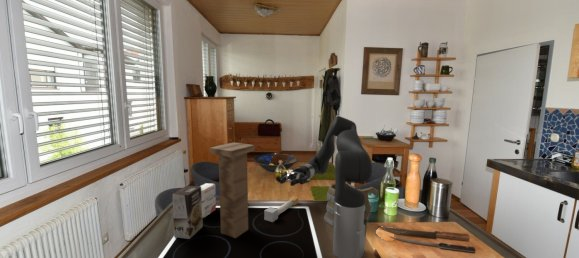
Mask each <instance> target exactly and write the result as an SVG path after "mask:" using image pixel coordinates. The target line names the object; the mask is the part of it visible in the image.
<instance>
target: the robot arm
mask: <svg viewBox="0 0 579 258" xmlns="http://www.w3.org/2000/svg"><path fill="white" fill-rule="evenodd" d="M334 136H335V137H336V140H335V142H334ZM334 143H336V144H334ZM335 145H336V146H335ZM335 147H336V150H337V153H336V155H335V158H334V159H335V160H334V177H335V179H334V180H335V181H334V182H335V205H334V226H333V239H332V241H333V242H332V253H333V255H334V256H335V257H336V258H362V257H363V256H364V253H365V243H366V242H365V241H366V224H365V218H364V212H365V195H364V194H363V193H362V192H361V191H359V190H357V189H358V188H356V187H355V188H352V187H350V186H349V185H347V184H348V183H347V184H346V182H350V183H352V182H354V183H363V182H368V181H369V180H370V179H371V177H372V174H373V162H372V159H371V157H370V155H369V153H368V152H367V150H366V149H365V148H364V146H363V144H362V141H361V139H360V137H359V133H358V130H357V124H356V123H355V122H354V121H352V120H350V119H348V118H345V117H344V116H343V117H342V116H340V115H337V116H335V117H334V119H332V122H331V123H330V126H329V127H328V131H327V133H326V135H325V138H324V140H323V143H322V146H321V147H320V149H319V150H318V152H317V154H316V155H313V156H312V157H311V158H310V159H309V160H308V162H306V163H304V164H301V165H300V166H298V167H296V168H295V169H294V170H293V172H290V173H288V171H284V172H283V173H282V174H281V177H280V179H279V184H280V185H282V184H285V183H286V182H290V186H291V187H293V186H295V185H299V184H300V185H305V184H307V183H310V182H311V181H310V180H311V178H313V176H315V175H317V174H318V175H324V174H326V173H327V170H328V169H329V166H330V165H329V164H330V160H331V159H332V157H333V156H334V153H335V151H336V150H335Z"/></svg>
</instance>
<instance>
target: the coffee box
mask: <svg viewBox="0 0 579 258" xmlns="http://www.w3.org/2000/svg"><path fill="white" fill-rule="evenodd" d="M171 198H172V214H173V215H172V216H173V237H174V238H180V239H186V240H190V239H191V238H193V237H194V236H195V235H196V234H197V233H198V232H199V231H200V230H201V229H202V228H203V227H204V226H203V225H204V224H203V218H202V195H201V187H200V186H198V185H186V186H184V187H181V188H180V189H178V190H176V191H175V192H173V193H172V197H171Z"/></svg>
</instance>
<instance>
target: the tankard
mask: <svg viewBox="0 0 579 258" xmlns="http://www.w3.org/2000/svg"><path fill="white" fill-rule="evenodd" d="M345 183H346V182H345ZM346 184H347V185H349V186H350V187H352V188H355V189H357V190H359V191H361V192H362V193H363V194H364V195H365V208H364V219H368V217H369V216H370V215H371V214H372V213H371V212H372V211H371V210H372V205H371V203H370V199H369V194H372V193H373V194H374V195H377V194H378V193H379V190H378V189H376V188H375V187H373V186H370V187H368V188H363V189H360V188H359V189H358V188H356V186H354V185H352V184H350V183H348V182H347V183H346ZM326 200H328V201H327V204H326V206H325V208H326V209H325V210H326V212H325V214H324V217H323V218H324V221H325V222H326V223H328V224H329V225H330V226H331V227H334V205H335V183H330V184H329V186H328V191H327V192H326Z"/></svg>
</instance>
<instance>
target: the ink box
mask: <svg viewBox="0 0 579 258" xmlns="http://www.w3.org/2000/svg"><path fill="white" fill-rule="evenodd" d="M199 187H201V195H202V219H204V218H206V217H207V216H208V215H210V214H213V212H214V211H216V210H217V203H216V202H217V200H216V197H217V196H216V184H215V183H209V182H208V183H207V182H205V183H203V184H201V185H200V186H199Z"/></svg>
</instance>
